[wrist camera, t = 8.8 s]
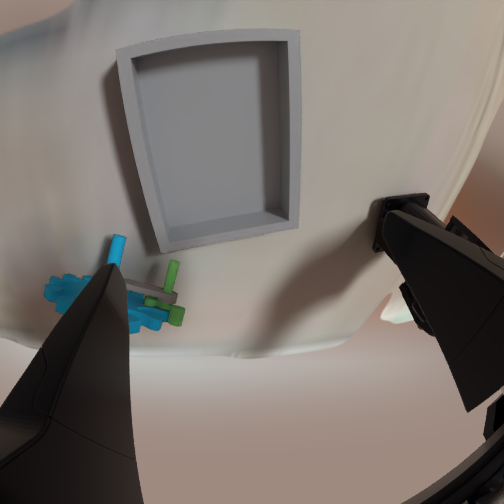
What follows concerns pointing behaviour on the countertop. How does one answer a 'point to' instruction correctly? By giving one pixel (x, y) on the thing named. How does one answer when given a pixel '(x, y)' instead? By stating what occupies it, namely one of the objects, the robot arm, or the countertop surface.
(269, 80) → the tray
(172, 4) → the countertop surface
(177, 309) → the gear
